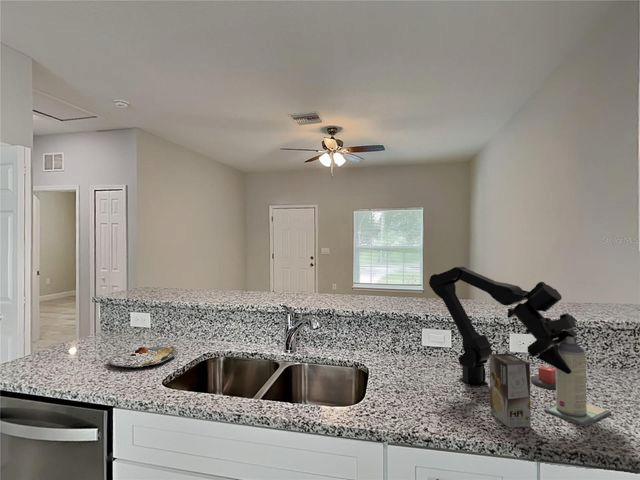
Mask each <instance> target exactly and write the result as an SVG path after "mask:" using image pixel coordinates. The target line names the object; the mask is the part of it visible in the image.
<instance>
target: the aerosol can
mask: <svg viewBox="0 0 640 480" xmlns="http://www.w3.org/2000/svg"><path fill="white" fill-rule="evenodd" d="M558 353H559V355H560V356H561V357H562V359H563V360H564V361H565V363H566V364H567V365H568V367H569V368H570V370H571V373H570V374H567V373H565V372H563V371H561V370H559V369H558V368H556V367H555V368H556V390H555V405H556V409H557V411H558V412H560V413H562V414H565V415H568V416H573V417H585V416H586V415H587V413H586V412H587V406H586V403H587V361H586V360H587V359H586V357H587V356H586V352H585V349H584V348H582V347H581V346H580V345H579V344H578V342H576V343H575V341H574V337H568V336H567V337H566V340H565V341H563V343H561V344H560V345H559V346H558Z"/></svg>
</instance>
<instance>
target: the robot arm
mask: <svg viewBox="0 0 640 480" xmlns="http://www.w3.org/2000/svg"><path fill="white" fill-rule="evenodd" d="M459 281H462V282H463V283H466V284H469V286H472V287H475V288H477V289H479V290H481V291H483V292H485V293H487V294H489V296H490V297H491V298H492V299H493V300H494V301H496V302H498V303H499V304H501V305H502V306H507V307H509V306H512V305H515V306H514V307H511V308H510V307H509V308H507V318H508V319H510V318H515V317H516V318H517V320H519V322H520V323H521V324H522V326H524V328H525V329H526V330H525V333H526V334H527V335H529V334H531V335H532V337H533V338H534V339H535V340H534V341H533V342H532V343H531V344H529V345H528V346H527V353H528V354H529V355H530V356H531V357H532V358H536V359H537V360H540V361H543V362H544V363H546V364H548V365H551V367H553V368H558V369H559V370H561V371H563V372H565V373H567V374H570V373H571V370H570V368H569V367H568V365H567V364H566V363H565V361H564V360H563V359H562V357H561V356H560V355H559V353H558V346H559V345H560V344H561V343H563V341H565V340H566V337H567V336H568V337H574V341H575V343H577V340H578V333H576V331H575V330H574V328H577V324H576V321H577V319H576V318H575V317H574V316H573V315H570V314H569V313H568V312H566V313H562V314H560V315H559V318H558V319H554V320H552V319H551V318H550V317H544V315H542V314H541V313H540V312H544V313H546V312H547V311H549V309H551V308H552V307H553V306H555V305H556V304H557V303H558V302H559V301H561V300H562V298H563V296H562V295H561V293H560V292H558V289H556V288H554V287H553V286H552V285H549V284H547V283H545V282H544V281H539V282H538V283H537V284H535V286H534V287H533V288H532V289H531V290H530V291H528V290H523V289H522V287H520V286H518V285H515V284H510V283H507V282H506V283H505V282H501V281H496V280H494V279H491V278H489V277H487V276H484V275H483V274H480V273H478V272H475V271H473V270H470V269H469V268H466V267H465V266H454V267H453V268H451V269H448V270H446V271H444V272H441V273H433V274H432V275H431V276H430V277H429V281H428V285H429V287H430V288H431V290H432V291H433V293H434V294H435V295H436V296H438V297H439V298H440V299H441V300H442V302H443V303H444V305H445V306H446V309H447V311H448V313H449V315H450V316H451V319H452V320H453V322H454V324H455V326H456V328H457V330H458V331H459V334H460V335H461V339H462V349H463V353H462V354H461V355H460V356H459V357H457V359H458V363H459V365H460V366H462V369H461V370H462V372H461V373H462V375H461V376H462V377H460V378H459V381H462V382H463V383H464V384H466V385H468V386H470V387H478V386H487V385H488V384H489V383H488V382H487V381H486V377H487V375H486V368H485V364H487V363H488V360H489V355H490V354H492V353H493V349H492V347H493V346H492V344H491V343H490V342H489V339H488V337H487V335H486V334H483V335H481V334H479V333H478V332H477V330H476V329H475V327H474V325H473V323H472V321H471V320H470V317H469V316H468V314H467V313H466V311H465V309H464V307H463V305H462V303H461V301H460V300H459V298H458V295H457V293H456V289H457V286H456V283H458V282H459ZM522 301H525V302H523V303H522Z"/></svg>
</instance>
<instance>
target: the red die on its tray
mask: <svg viewBox="0 0 640 480" xmlns="http://www.w3.org/2000/svg"><path fill="white" fill-rule="evenodd" d="M530 383H531V384H533V385H535V386H537V387H540V388H542V389H547V390H555V391H556V367H553V366H547V365H542V366H540V367H538V375H533V376H530Z"/></svg>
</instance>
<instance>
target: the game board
mask: <svg viewBox="0 0 640 480" xmlns="http://www.w3.org/2000/svg"><path fill="white" fill-rule="evenodd" d="M586 406H587V412H586V413H587V415H586V416H585V417H573V416H568V415H565V414H562V413H560V412H558V411H557V409H556V404H553V405H551V406H549V407H546V408H544V412H545V413H547V414H551V415H552V416H555V417H559V418H560V419H564V420H567V421H568V422H572V423H573V424H576V425H580V426H582V427H584V428H585V427H587V426H589V425H592V424H593V423H595V422H598V421H599V420H601V419H604V418H605V417H606V416H609V415H611V413H612V412H611V411H612V410H608V409H606V408H603V407H600V406H596V405H593V404H590V403H587V402H586Z"/></svg>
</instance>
